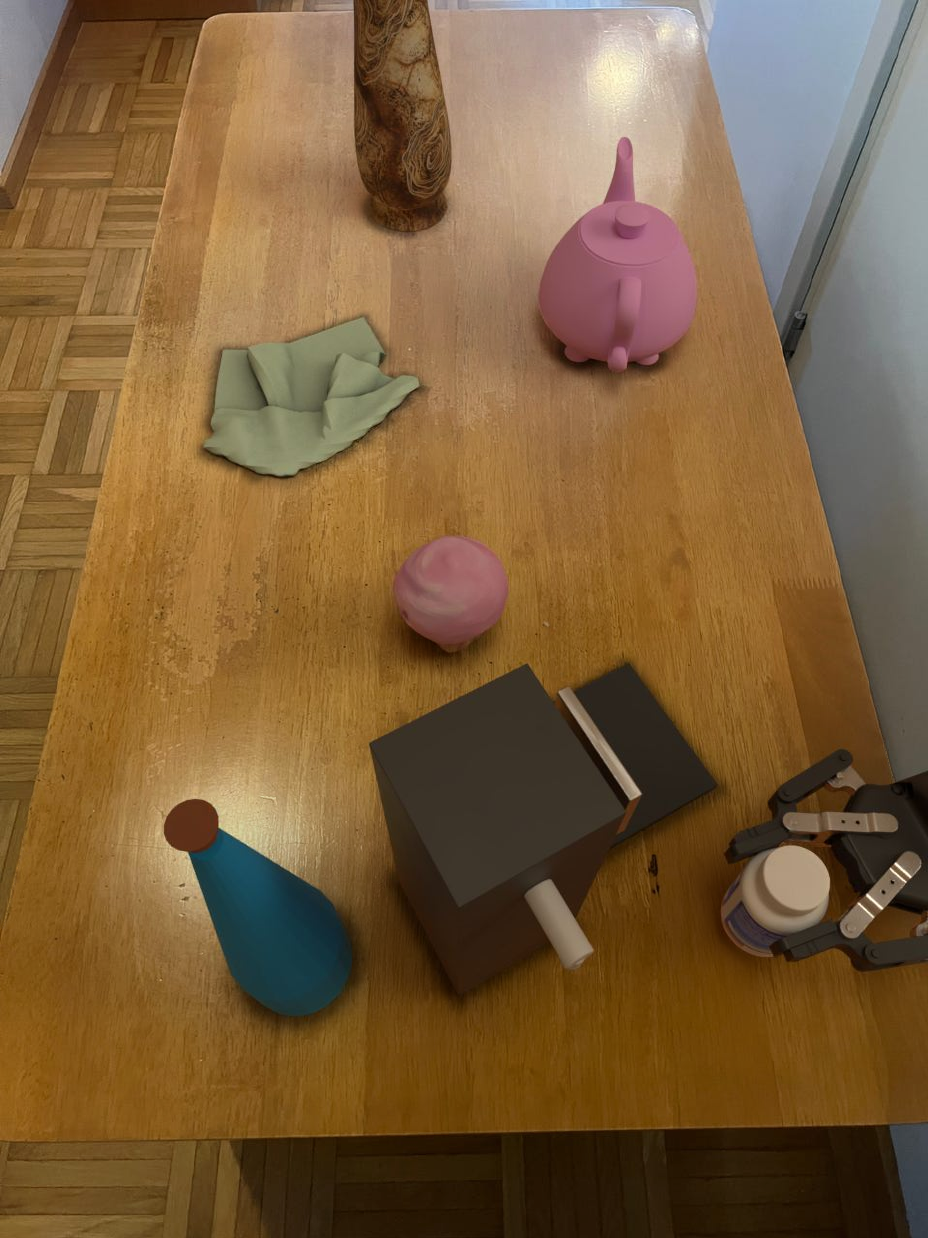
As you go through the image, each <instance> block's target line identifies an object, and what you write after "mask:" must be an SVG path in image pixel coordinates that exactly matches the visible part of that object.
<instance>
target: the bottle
mask: <svg viewBox="0 0 928 1238" xmlns="http://www.w3.org/2000/svg"><path fill="white" fill-rule="evenodd" d="M219 818H220V817H219V814H218V811H217V809H216V808H215V806H214V805H213V804H212V803H210V802H209V801H207V800H205V799H201V798H191V799H190V798H189V799H185V800H184V801H181V802H179V803H177V804H176V805H175V806H174V807H173V808H172V809H171V810H170V811H169V812H168V814H167V815H166V818H165V821H164V823H163V835H164V838H165V841H166V842H167V843H168V844H169V846H170V847H171V848H173V849H175V850H177V851H178V852H186V853H187V854H188V857H189V860H190V862H191V865H192V866H191V867H192V868H193V871H194V874H195V877H196V879H197V883H198V886H199V889H200V892H201V894H202V897H203V900H204V902H205V906H206V908H207V911H208V914H209V917H210V919H211V922H212V925H213V928H214V931H215V934H216V937H217V939H218V942H219V945H220V948H221V952H222V954H223V957H224V959H225V962H226V965H227V967H228V970H229V973H230V976H231V977H232V978H233V979H234V981H235V982H236V983H237V984H238V986H240V988H241V989H242V990H243V991H245V992H246V993H247V994H248V995H249V996H251V997H252V998H253V999H254V1000H256V1001H257V1002H258V1003H260V1004H261V1005H263V1006H264V1007H265V1008H268V1009H269V1010H271V1011H272V1012H274V1013H276V1014H278V1015H282V1016H288V1017H292V1018H297V1017H302V1016H308V1015H313V1014H315V1013H317V1012H320V1011H321V1010H323V1009H324V1008H326V1007H328V1006H329V1005H330V1004H332V1002H333V1001H334V1000H335V999H336V998H337V997H338V996H339V995H340V994H341V993H342V991H343V989H344V987H345V986H346V983H347V982H348V980H349V978H350V975H351V970H352V964H353V961H354V959H353V948H352V942H351V939H350V937H349V935H348V933H347V930H346V928H345V926H344V924H343V921H342V920H341V918H340V916H339V914H338V912H337V910H336V907H335V905H334V904H333V902H332V901H331V900H330V899H329V898H328V897H327V896H326V894H325V893H323V891H321V889H319V888H317V887H316V886H313V884H311V883H309V882H308V881H306V880H304V879H303V878H301V877H300V876H298V875H296V874H295V873H293V872H291V871H290V870H288V869H287V868H285V867H283V866H282V865H280V864H278V863H277V862H275V861H273V859H271V858H269V857H267V856H265V855H264V854H262V853H261V852H260V851H258V850H256V849H254V848H253V847H251V846H249V845H248V844H246V843H244V842H243V841H241V840H240V839H238V838H237V837H235V836H233V835H231V834H230V833H228V832H227V831H225V830H224V829H222V828H220V827H219V825H220V821H219Z"/></svg>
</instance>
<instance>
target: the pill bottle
mask: <svg viewBox="0 0 928 1238" xmlns="http://www.w3.org/2000/svg"><path fill="white" fill-rule="evenodd" d="M830 887H831V879H830V874H829V871H828V869H827V867H826V865H825V864H824V862H823V861H822V860H821V858H820V857H819V856H818V855H817V854H815V853H814V852H812V851H811V850H809V849H807V848H805V847H802V846H799V845H794V844H793V845H791V844H790V845H789V844H788V845H782V846H779V847H777V848H774V849H768V850H765V851H762V852H760V853H759V854H757V855H755V856H752V857H751V859H750V860H749V861H748V862H747V863H746V865H745V866H744V867H743V869H742V870H741V872H740V873H739V874H738V875H737V877H736V878H735V880H734V881H733V882H732V883H731V885H730V886H729V887H728V889H727V890H726V891H725V894H724V895H723V898H722V900H721V905H720V918H721V924H722V927H723V930H724V931H725V933H726V935H727V936H728V937H729V939H730V940H731V942H733V943H734V945H736V946H737V947H738V948H739V949H741V950H742V951H744V952H746V953H748V954H750V955H753V956H756V957H761V958H772V957H773V958H774V956H773V954H772V952H771V950H770V948H769V946H770V945H771V944H772V943H774V942H775V941H777V940H779V939H781V938H784V937H786V936H789V935H791V934H794V933H797V932H799V931H802V930H804V929H807V928H810V927H812V926H815V925H817V924H820V923H821V922H822V921H823V919H824V917H825V915H826V913H827V910H828V907H829V900H830V894H829V892H830Z"/></svg>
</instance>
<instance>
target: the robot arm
mask: <svg viewBox="0 0 928 1238" xmlns="http://www.w3.org/2000/svg"><path fill="white" fill-rule="evenodd" d="M853 761H854V757H853V754H852V753H851V752H850V751H849V750H848V749H845V748H839V749H837V750H835V751H834V752H832V753H830V754H828V755H827V756H826V757H824V758H822V759H821V760H819V761H818V762H815V763H814V764H812V765H811V766H809V767H807V768H806V769H805V770H803V771H801V772H800V773H798V774H797V775H795V776H793V777H792V778H790V779H788V780H787V781H785V782H784V783H782V784H781V785H780V786H778V788H777V789H776V790H775V791H774V792H773V794H772V795H771V796H770V798H768V801H767V808H768V809H769V810H770V812H771V819H770V820H768V821H765V822H763V823H759V824H757V825H755V826H754V825H753V826H750V827H748V828H746V829H743V830H740V831H738V832H737V833H736V834H735V835H734V836H733V837H732V839H730V841H729V842H728V846H729V847H728V848H727V849H726V850H725V851H724V852H723V856H724V858H725V860H726V863H727V864H728V865H733V864H736V863H738V862H741V861H744V860H747V859H749V858H753V857H754V856H756V855H757V854H759V853H760V852H762V851H765V850H768V849H775V848H780V847H781V845H782V844H783V843H789V844H790V843H793V844H806V845H808V846H811V847H816V848H817V847H819V848H829V849H830V850H831V852H832V854H833V856H834V857H835V859H836V860H837V861H838V863H839V864H840V865H841V866H842V867H843V868H844V870H845V873H846V877H847V879H848V882H849V884H850V887H851V888H852V890H853V892H854V893H855V894H857V893H858V894H857V895H856V897H854V899H853V900H852V901H851V902H850V903H849V904H848V905H847V906H846V908H845V909H844V911H843V912H842V914H840V915H839V917H838V918H837V919H836V920H835V921H834V920H833V918H831V919H828V920H825V921H823V922H820V923H819V924H817V925H815V926H812V927H810V928H807V929H804V930H802V931H799V932H797V933H794V934H791V935H789V936H786V937H784V938H781V939H779V940H777V941H775V942H774V943H772V944H771V945H770V946H769V948H770V950H771V952H772V954H773V958H777V957H780V956H782V955H783V957H784V959H785V961H786V963H799V962H802V961H803V960H806V959H808V958H811V957H813V956H816V955H819V954H821V953H823V952H826V951H829V950H832V949H833V950H839V951H841V952H842V953H844V955H846V957H848V958H849V959H850V964H851V966H852V967H853V969H854V970H855V971H858V972H860V973H867V972H874V971H879V970H880V971H881V970H886V969H892V968H899V967H905V966H911V965H918V964H919V965H920V964H925V963H928V770H926V771H923V772H920V773H917V774H915V775H912V776H908V777H906V778H903V779H900V780H898V781H895V782H892V783H888V784H877V783H866V782H865V780H864V779H863V778H862V777H861V776H860V775H859V773H858V772H857V771H856V770H855V769H854V767H852V763H853ZM823 788H824V790H825V791H827V792H829V793H837V792H841V791H842V792H846V793H847V794H849V795H850V796H849V798H848V801H847V802H846V804H845V806H844V808H843V810H842V811H821V812H817V813H816V812H815V813H814V812H813V813H811V812H798V807H797V804H799V803H801V802H802V801H803V800H805V799H806V798H808V797H811V795H813V794H815V793H817V792H818V791H820V790H821V789H823ZM886 907H890V908H894V909H897V910H901V911H905V912H907V913H911V914H914V915H919V916H920V917H921V921H920V923H919V924H918V925H915V926H913V927H911V929H910V932H909V937H904V938H899V939H893V940H886V941H879V942H873V941H872V940H871V938H869V937H868V936H867V935H866V933H864V931H865V930H866V928H867V927H868V926H869V925H870V923H872V922H873V920H874V919H875V918H876V917H877V916H878V915H879V914H880V913H881V912H882V911H884V909H885V908H886Z"/></svg>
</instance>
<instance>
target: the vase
mask: <svg viewBox="0 0 928 1238" xmlns="http://www.w3.org/2000/svg"><path fill="white" fill-rule="evenodd" d="M352 1H353V136H354V147H355V156H356V164H357V168H358V172H359V177H360V179H361V182H362V184H363V187H364V188H365V190H366V192H367V193H368V194H369V196H370V197H371V201H370V204H369V210H370V214H371V216H372V218H373V220H374V221H376V222H377V223H378V224H379V225H381V226H382V227H385V228H387V229H391V230H395V231H399V232H414V231H421V230H426V229H428V228H430V227H432V226H434V225H436V224H438V222H440V221H441V219H443V217H444V216H445V215H446V213H447V212H448V207H449V206H448V205H449V204H448V198H447V196H446V195H445V193H444V191H445V190H446V188H447V186H448V184H449V180H450V178H451V172H452V161H453V152H452V151H453V150H452V136H451V127H450V120H449V114H448V109H447V103H446V98H445V92H444V85H443V81H442V76H441V70H440V65H439V59H438V55H437V49H436V44H435V38H434V31H433V27H432V20H431V15H430V8H429V2H428V0H352Z"/></svg>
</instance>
